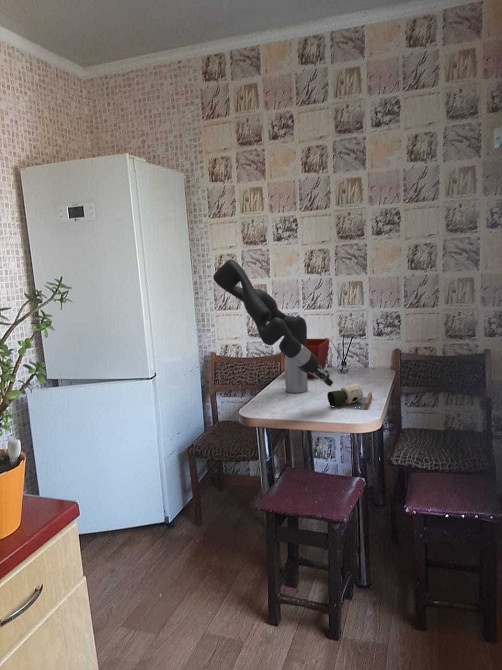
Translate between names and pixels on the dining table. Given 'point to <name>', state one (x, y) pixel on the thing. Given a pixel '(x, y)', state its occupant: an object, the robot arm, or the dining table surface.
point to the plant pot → (318, 351)
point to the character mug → (345, 395)
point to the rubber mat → (358, 403)
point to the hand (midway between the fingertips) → (330, 384)
